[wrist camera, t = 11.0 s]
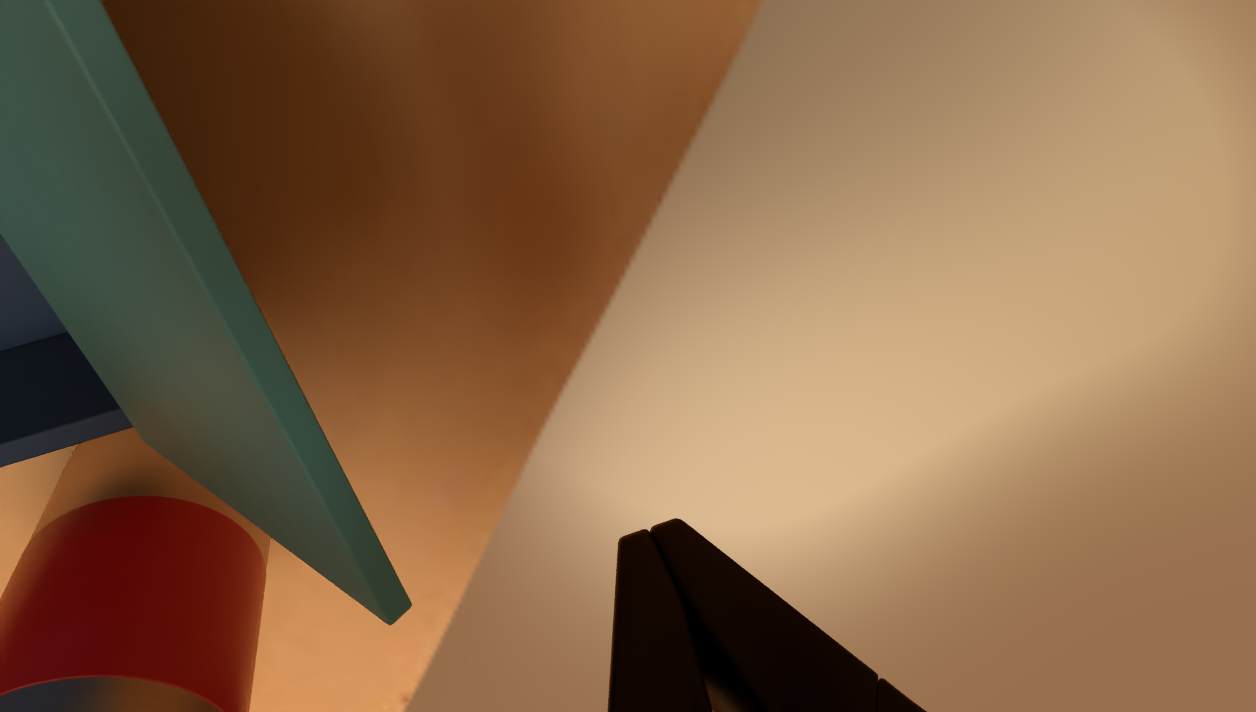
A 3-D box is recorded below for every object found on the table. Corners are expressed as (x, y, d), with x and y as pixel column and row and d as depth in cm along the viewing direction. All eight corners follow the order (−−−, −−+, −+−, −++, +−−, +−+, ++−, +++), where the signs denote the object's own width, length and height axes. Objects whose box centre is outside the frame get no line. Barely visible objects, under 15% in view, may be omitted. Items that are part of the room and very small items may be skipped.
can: (227, 384, 21) (131, 770, 12) (306, 520, 24) (276, 913, 15) (20, 446, 20) (-249, 907, 11) (128, 578, 23) (-17, 1028, 14)
